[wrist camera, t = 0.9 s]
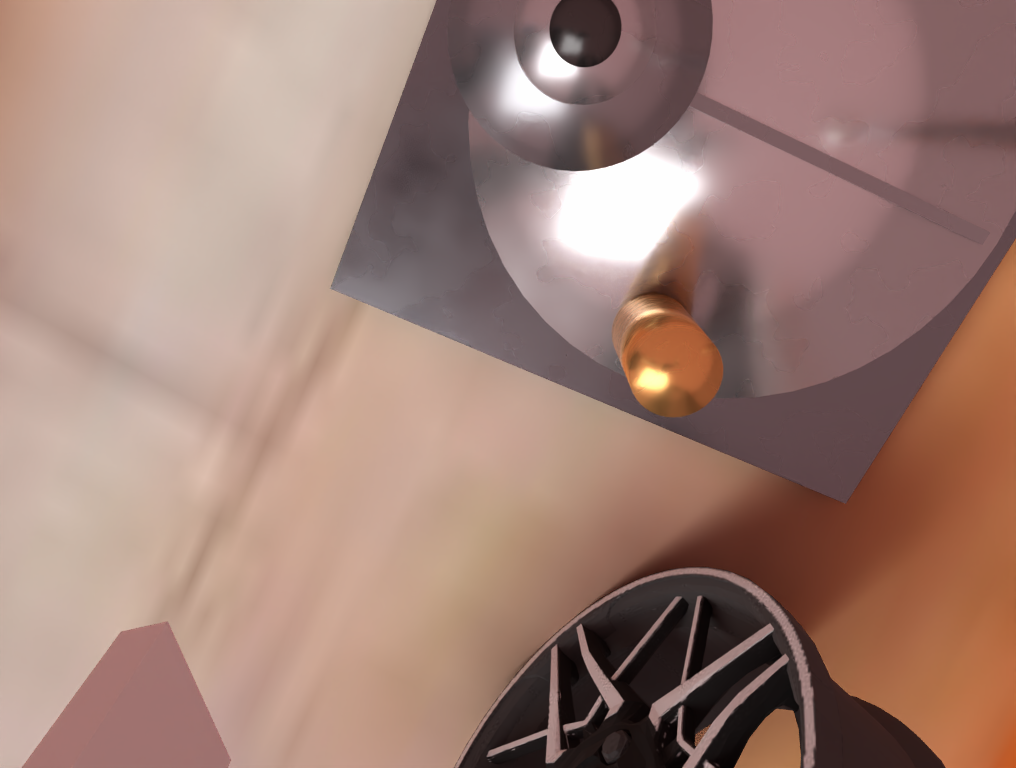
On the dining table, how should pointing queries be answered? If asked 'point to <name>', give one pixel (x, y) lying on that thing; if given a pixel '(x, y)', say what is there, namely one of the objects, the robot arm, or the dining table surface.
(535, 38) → the cover
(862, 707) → the wheel rim
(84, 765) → the robot arm
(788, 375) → the turntable
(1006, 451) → the dining table surface
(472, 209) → the turntable base
